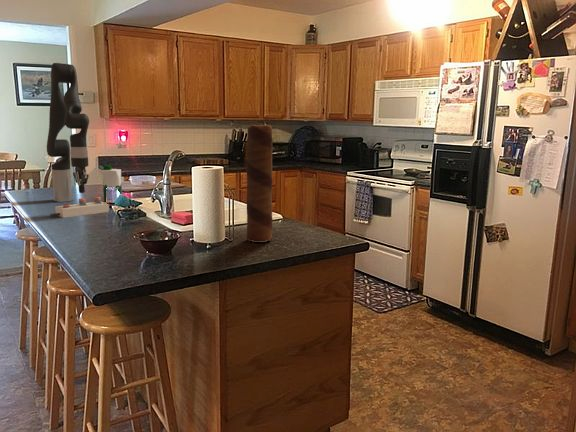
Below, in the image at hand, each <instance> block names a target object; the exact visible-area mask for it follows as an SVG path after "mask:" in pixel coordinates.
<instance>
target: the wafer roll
mask: <svg viewBox="0 0 576 432" xmlns="http://www.w3.org/2000/svg"><path fill="white" fill-rule="evenodd" d="M246 138H247V139H246V150H245V153H246V155H245V157H246V158H245V159H246V160H245V161H246V170H245V171H246V217H247V218H246V223H247V224H246V240H247V239H249V240H254V241H265V240H269V239H271V238H272V239H273V203H272V201H273V200H272V199H273V182H274V181H273V127H272V126H271V125H270V124H261V125H256V124H251V125H249V126H248V127H247V137H246Z"/></svg>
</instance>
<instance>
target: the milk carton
mask: <svg viewBox="0 0 576 432" xmlns="http://www.w3.org/2000/svg"><path fill="white" fill-rule="evenodd" d="M101 175H102V188H103V189H102V190H103V202H106V188H107V187H108V186H113V187H116V188H117V189H118V191H119V192H120V194H121V195H122V196H123V193H122V192H123V190H122V189H123V188H122V187H123V186H122V169H120V168H119V169H118V168H112V165H107V164H105V165H103V168H102V170H101Z"/></svg>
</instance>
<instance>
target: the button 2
mask: <svg viewBox="0 0 576 432" xmlns="http://www.w3.org/2000/svg"><path fill="white" fill-rule="evenodd" d="M86 203H87V200H86V198H78V204H79V205H85V204H86Z"/></svg>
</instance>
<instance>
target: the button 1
mask: <svg viewBox="0 0 576 432" xmlns="http://www.w3.org/2000/svg"><path fill="white" fill-rule="evenodd" d="M70 205H71V204H67V203H66V204H65V203H64V204H63V205H62V206H63V208H69V207H70Z"/></svg>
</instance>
